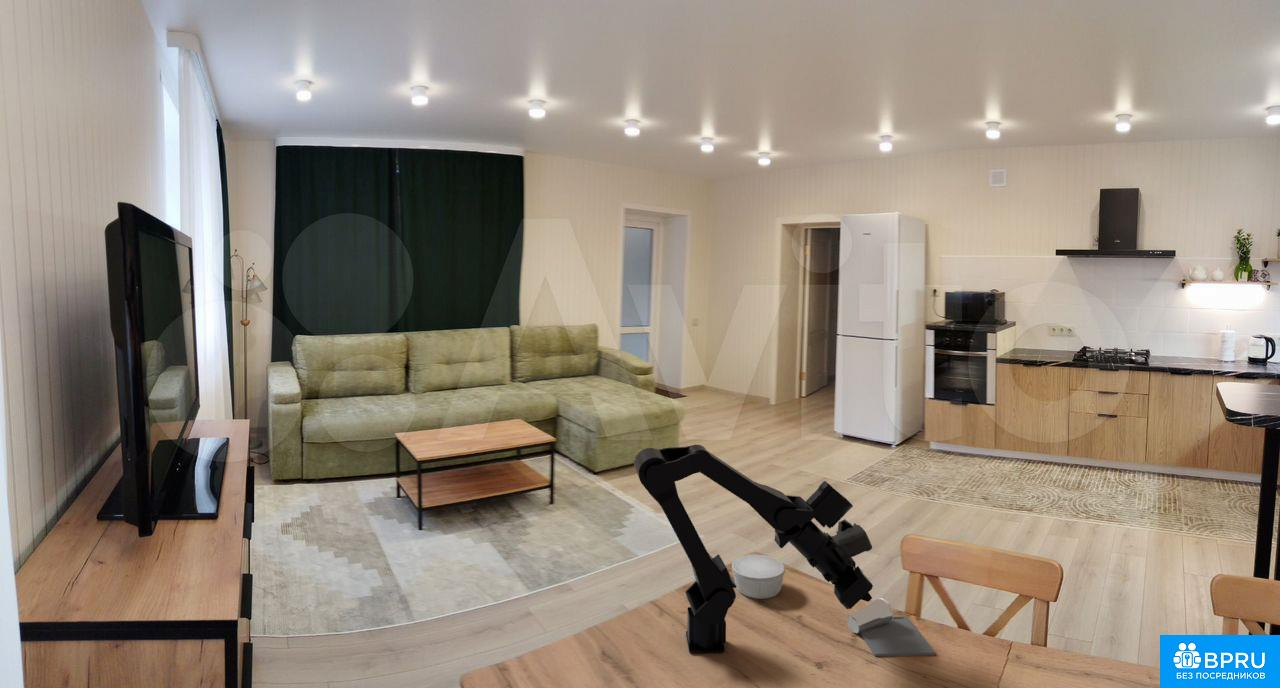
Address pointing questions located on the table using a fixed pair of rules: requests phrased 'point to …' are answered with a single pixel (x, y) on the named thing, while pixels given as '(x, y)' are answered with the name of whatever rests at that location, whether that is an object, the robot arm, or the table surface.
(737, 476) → the robot arm
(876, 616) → the milkshake
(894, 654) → the mat
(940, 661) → the table surface
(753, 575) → the ramekin
